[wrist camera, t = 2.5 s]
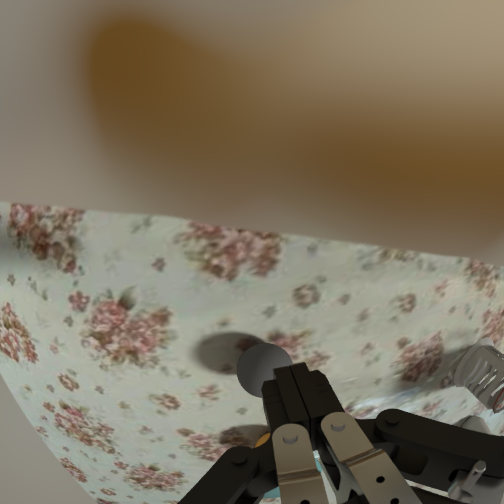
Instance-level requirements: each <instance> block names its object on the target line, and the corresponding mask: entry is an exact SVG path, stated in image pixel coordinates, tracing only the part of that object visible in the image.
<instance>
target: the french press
mask: <svg viewBox="0 0 504 504" xmlns="http://www.w3.org/2000/svg"><path fill="white" fill-rule="evenodd" d="M498 354H499V356H498ZM502 358H504V354H502V353H501V352H499V351H498V350H497V349H495V348H494V343H493V341H492V339H491V338H488V337H486V338H483V339H481V340H479V341H478V342H476V343H475V344H474V345H473V346H472V347H471V348H470V349H469V350H468V351H467V353H466V354H465V355H464V356H463V358H462V359H461V361H460V363H459V364H458V366H457V369H456V372H455V374H454V384H455V385H456V387H466V388H467V389H468V390H469V391H470V392H471V393H472V394H473V395H474V396H475V397H476V398H477V399H478V400H479V401H480V402H481V403H482V404H483V405H484V406H485V407H487V408H488V409H489V410H490V409H493V412H494V413H499V412H500V411H502V410H504V387H502V388H501V389H500V390H499V391H498V392H496V393H495V395H494V396H493V397H492V396H491V394H492V392H493V391H494V390H495V389H497V388H498V387H499V386H500V385H501V384H503V383H504V379H503V377H504V360H503V359H502ZM495 369H497V370H496V371H495ZM494 371H495V372H494ZM489 372H490V373H489ZM488 373H489V375H488V377H487V378H486V379H485V380H484V381H483V382H482V383H481V384H480V385H479V384H478V383H479V382H480V381H481V380H482V379H483V378H484V376H486V375H487V374H488ZM495 375H496V377H495V378H494V379H493V380H492V381H491V382H490V383H489V384H487V383H488V382H489V381H490V379H491V378H492V377H493V376H495ZM502 379H503V380H502ZM501 380H502V381H501ZM486 384H487V386H486V387H485V385H486ZM484 387H485V388H484Z"/></svg>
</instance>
